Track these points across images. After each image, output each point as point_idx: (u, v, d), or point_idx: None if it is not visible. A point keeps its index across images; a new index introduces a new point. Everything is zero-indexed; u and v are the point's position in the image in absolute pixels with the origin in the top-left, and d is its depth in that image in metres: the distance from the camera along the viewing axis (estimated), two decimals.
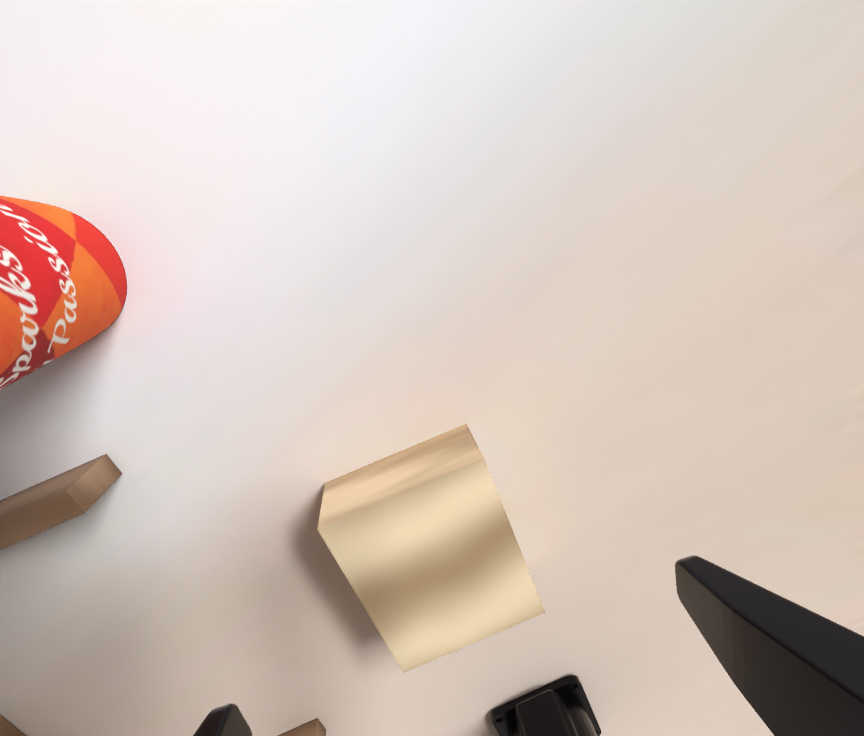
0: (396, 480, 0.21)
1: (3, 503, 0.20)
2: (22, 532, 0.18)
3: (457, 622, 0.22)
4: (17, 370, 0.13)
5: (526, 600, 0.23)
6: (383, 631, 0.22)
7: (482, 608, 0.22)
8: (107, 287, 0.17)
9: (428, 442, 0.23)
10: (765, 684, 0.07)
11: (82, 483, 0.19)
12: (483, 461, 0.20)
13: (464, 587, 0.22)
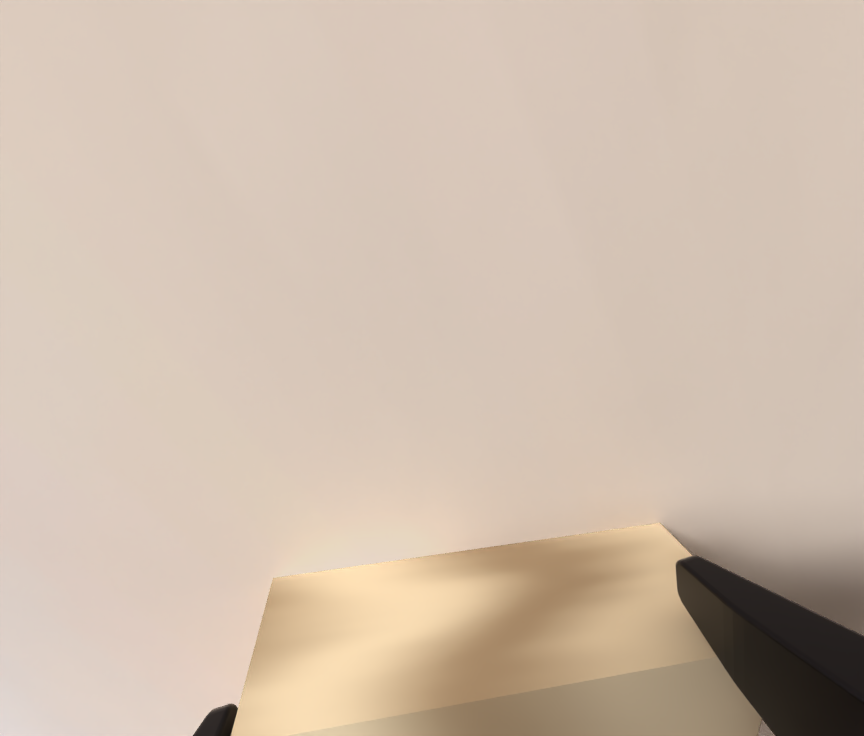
0: None
1: None
2: None
3: None
4: None
5: (713, 682, 0.08)
6: None
7: None
8: None
9: None
10: (765, 684, 0.07)
11: None
12: None
13: None
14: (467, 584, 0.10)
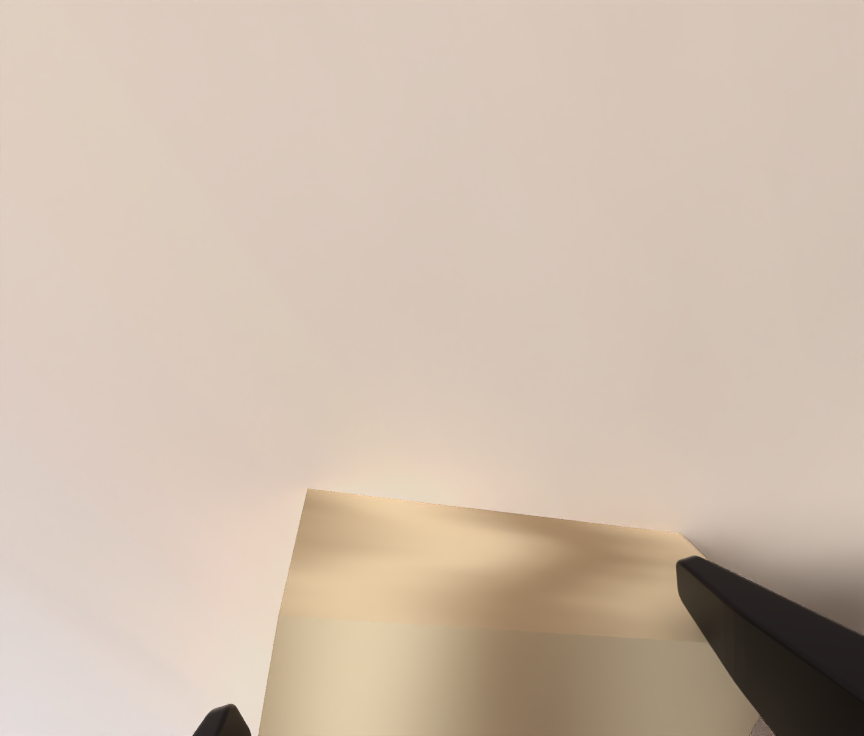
0: None
1: None
2: None
3: None
4: None
5: None
6: None
7: None
8: None
9: None
10: (766, 684, 0.07)
11: None
12: (283, 618, 0.07)
13: None
14: (503, 536, 0.10)
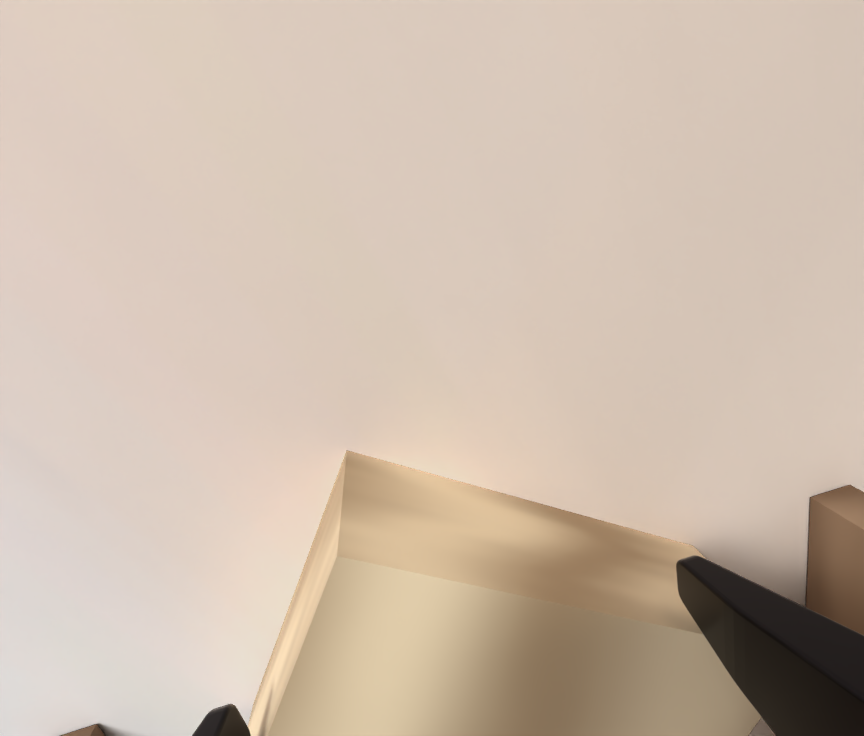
0: (277, 680, 0.09)
1: None
2: None
3: None
4: None
5: None
6: None
7: None
8: None
9: None
10: (766, 684, 0.07)
11: None
12: (341, 560, 0.07)
13: None
14: (532, 519, 0.10)
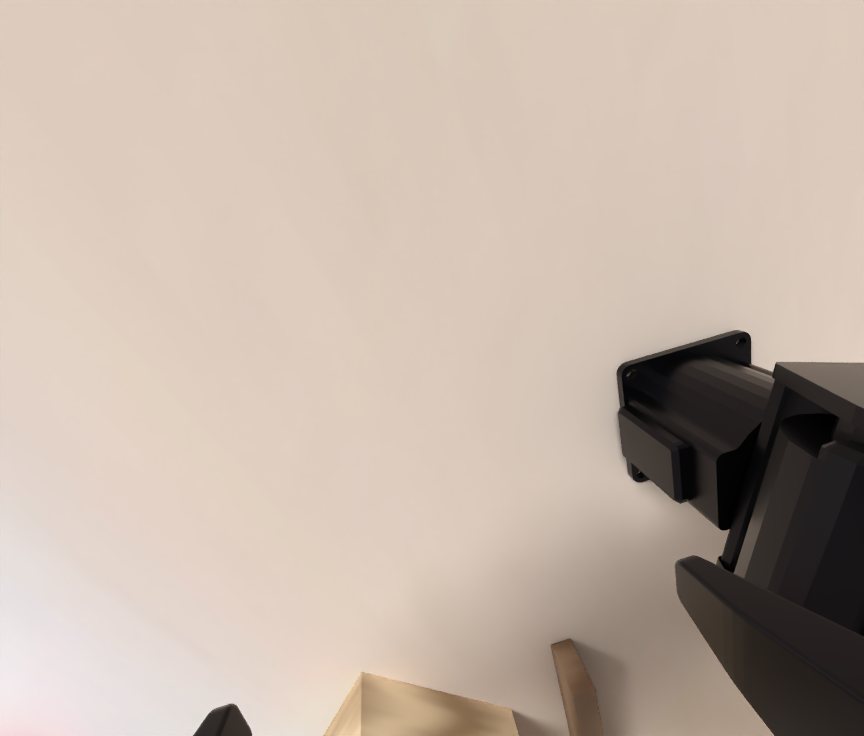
0: None
1: None
2: None
3: None
4: None
5: None
6: None
7: None
8: None
9: (344, 704, 0.25)
10: (765, 684, 0.07)
11: None
12: None
13: None
14: (435, 709, 0.25)
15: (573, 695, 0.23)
